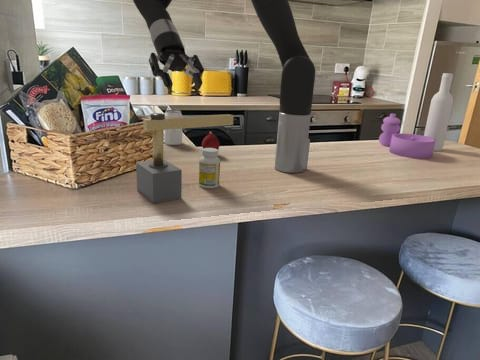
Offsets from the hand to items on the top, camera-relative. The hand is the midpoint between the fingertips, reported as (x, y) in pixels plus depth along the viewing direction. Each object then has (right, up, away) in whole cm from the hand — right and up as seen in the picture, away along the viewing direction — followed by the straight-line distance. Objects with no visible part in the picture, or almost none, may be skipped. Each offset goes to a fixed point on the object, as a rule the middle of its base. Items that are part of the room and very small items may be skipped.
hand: (185, 87), depth 100 cm
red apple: (+5, -16, +28) cm, 33 cm away
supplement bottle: (+6, -26, -1) cm, 27 cm away
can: (-10, -11, +41) cm, 44 cm away
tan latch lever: (+2, -20, -6) cm, 21 cm away
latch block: (-5, -28, -9) cm, 30 cm away
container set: (+79, -13, +51) cm, 94 cm away
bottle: (+93, -12, +56) cm, 109 cm away
